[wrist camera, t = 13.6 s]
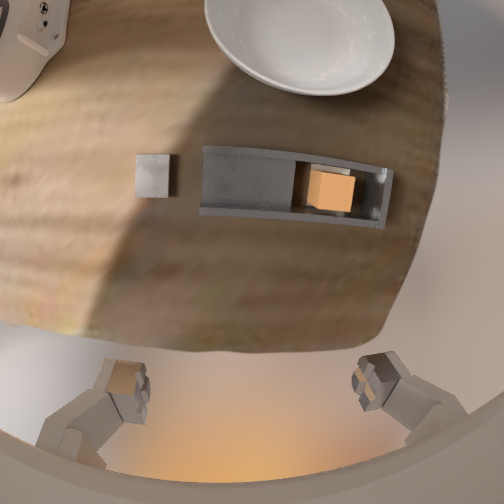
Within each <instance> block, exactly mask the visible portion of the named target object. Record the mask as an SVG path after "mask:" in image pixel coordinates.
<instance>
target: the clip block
mask: <svg viewBox="0 0 504 504" xmlns="http://www.w3.org/2000/svg"><path fill="white" fill-rule="evenodd" d="M354 183H355V177H353V176H349V175H345V174H341V173H334V172H327V171H320V170H313V169H311V173H310V182H309V190H308V198H307V202H308V203H310V204H311V205H313V206H314V207H316V208H317V209H326V210H335V211H345V212H350V210H351V204H352V197H353V190H354Z"/></svg>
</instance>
